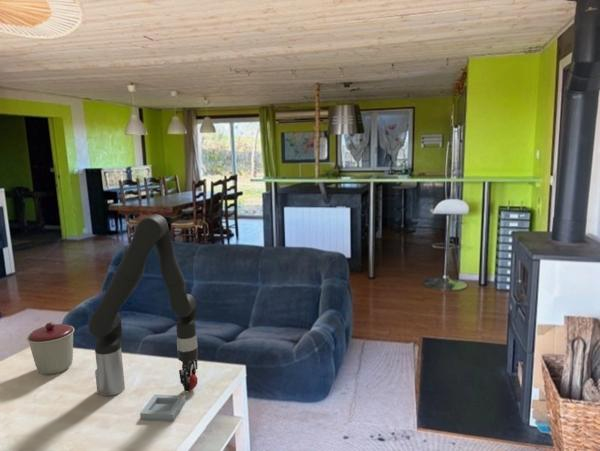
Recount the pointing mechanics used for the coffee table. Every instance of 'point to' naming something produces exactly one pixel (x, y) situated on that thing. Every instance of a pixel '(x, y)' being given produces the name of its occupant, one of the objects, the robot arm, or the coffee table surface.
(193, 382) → the onion
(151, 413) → the base plate
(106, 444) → the coffee table surface
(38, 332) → the canister
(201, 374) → the coffee table surface
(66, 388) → the coffee table surface
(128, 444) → the coffee table surface
